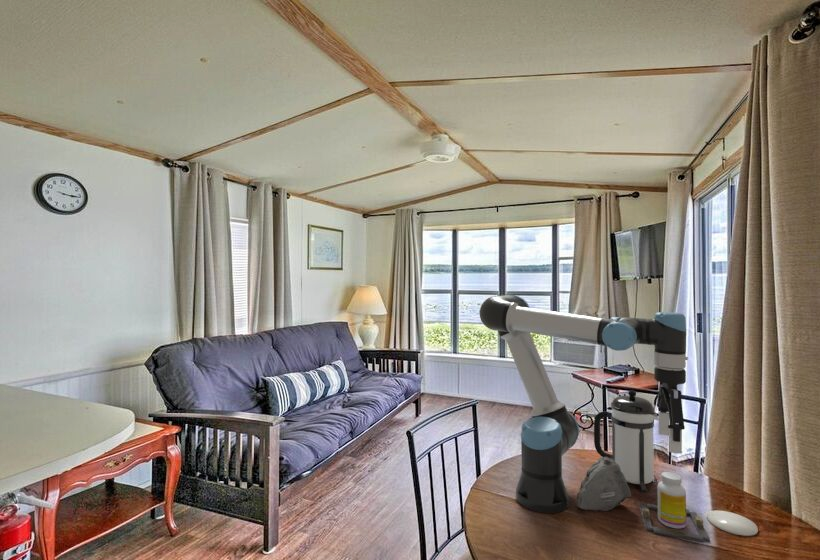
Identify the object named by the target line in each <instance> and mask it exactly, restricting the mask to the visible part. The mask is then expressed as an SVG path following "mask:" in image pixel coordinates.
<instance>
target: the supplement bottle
mask: <svg viewBox="0 0 820 560" xmlns="http://www.w3.org/2000/svg"><path fill="white" fill-rule="evenodd" d="M660 477H661V481H659V482H658V483H657V505H658V511H657V519H658V521H659V522H660V524H662V525H664V526H666V527H669V528H672V529H675V530H677V529H684V528H685V527H686V526H687V515H686V510H687V491H686V489H685V487H684V486H683V485H682V482H683V481H682V476H681V475H679V474H677V473H675V472H671V471H664V472H661V475H660Z"/></svg>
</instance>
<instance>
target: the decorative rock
mask: <svg viewBox="0 0 820 560" xmlns="http://www.w3.org/2000/svg"><path fill="white" fill-rule="evenodd" d="M631 496H632V493H631V489H630V487H629V485H628V482H626V479H625V476H624V474H623V473H622V472H621V469H620V466H619V465H618V464H617V463H616V462H615V461H614V460H613V459H612V458H608V457H602V456H601V457H599V458H598V459H597V461H596V462H595V463H593V464H592V465H591V466H590V467H589V468H588V470H587V471H586V476H585V478H584V480H582V481H581V482H580V487H579V490H578V492H577V493H576V507H577V508H580V509H583V510H588V511H589V510H593V511H603V512H606V511H607V512H608V511H609V510H613V509H614V508H615V507H618V506H620V505H621V503H622V502H624V501H625V500H626V499H628V498H629V499H630V498H631Z"/></svg>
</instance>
